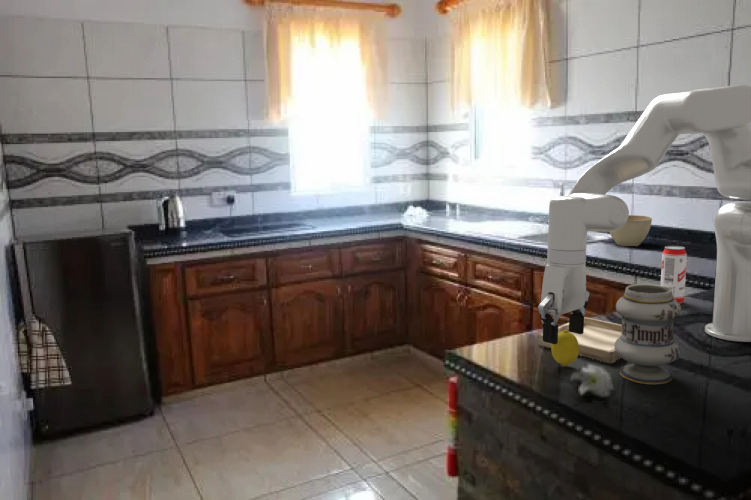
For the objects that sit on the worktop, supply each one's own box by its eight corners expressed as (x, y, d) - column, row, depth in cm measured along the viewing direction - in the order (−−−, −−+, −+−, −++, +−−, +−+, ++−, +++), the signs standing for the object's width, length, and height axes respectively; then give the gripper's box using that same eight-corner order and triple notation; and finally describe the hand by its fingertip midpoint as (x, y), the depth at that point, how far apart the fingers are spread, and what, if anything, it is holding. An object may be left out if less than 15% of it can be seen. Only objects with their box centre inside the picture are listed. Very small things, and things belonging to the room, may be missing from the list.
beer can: (656, 303, 177) (659, 247, 174) (664, 298, 181) (666, 244, 179) (679, 306, 173) (683, 250, 170) (687, 301, 177) (690, 246, 174)
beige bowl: (619, 240, 282) (620, 214, 280) (658, 244, 268) (659, 217, 266) (597, 245, 271) (598, 218, 269) (637, 250, 257) (638, 221, 255)
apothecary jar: (614, 361, 132) (617, 279, 129) (676, 368, 128) (681, 283, 125) (612, 382, 121) (615, 293, 118) (680, 390, 117) (685, 297, 114)
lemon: (573, 361, 133) (573, 325, 132) (582, 370, 128) (583, 333, 127) (547, 362, 133) (548, 326, 132) (555, 372, 128) (556, 334, 126)
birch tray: (583, 326, 158) (583, 316, 157) (654, 341, 144) (654, 331, 144) (538, 344, 145) (538, 334, 144) (610, 363, 131) (611, 352, 131)
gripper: (573, 249, 135) (569, 325, 138) (525, 260, 124) (523, 342, 126) (605, 254, 129) (601, 333, 132) (559, 265, 118) (555, 351, 121)
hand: (563, 337), depth 129 cm, fingers open, 9 cm apart
